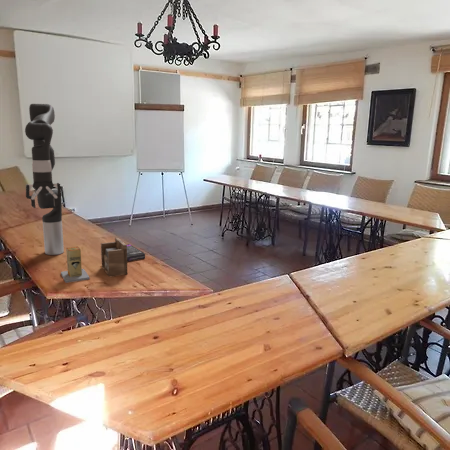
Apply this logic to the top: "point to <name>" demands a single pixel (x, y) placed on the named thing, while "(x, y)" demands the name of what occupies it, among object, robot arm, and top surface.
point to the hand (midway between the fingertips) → (44, 207)
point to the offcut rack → (114, 257)
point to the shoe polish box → (74, 261)
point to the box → (134, 253)
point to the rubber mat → (75, 278)
